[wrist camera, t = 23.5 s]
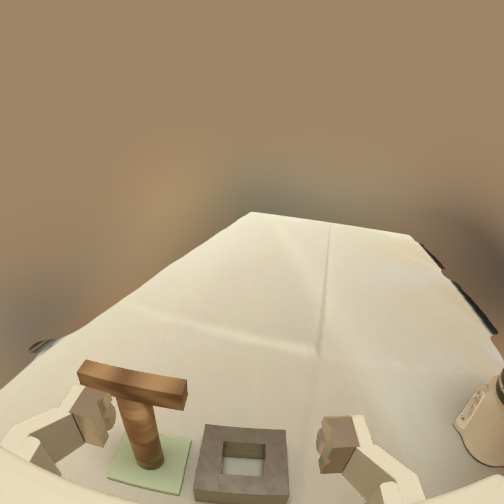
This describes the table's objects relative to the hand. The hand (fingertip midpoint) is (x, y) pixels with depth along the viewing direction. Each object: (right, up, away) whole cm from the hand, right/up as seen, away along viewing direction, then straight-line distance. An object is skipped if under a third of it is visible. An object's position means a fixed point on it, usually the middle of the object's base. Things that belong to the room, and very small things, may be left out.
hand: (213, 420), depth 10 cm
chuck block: (0, -24, +24) cm, 34 cm away
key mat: (-13, -23, +24) cm, 35 cm away
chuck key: (-13, -22, +24) cm, 35 cm away
